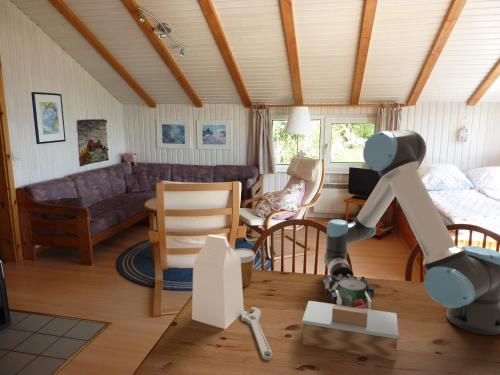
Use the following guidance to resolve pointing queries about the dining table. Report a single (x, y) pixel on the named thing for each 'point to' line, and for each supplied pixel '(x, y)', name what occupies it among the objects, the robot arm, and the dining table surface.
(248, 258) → the disposable coffee cup
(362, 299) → the canned tomato
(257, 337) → the adjustable wrench
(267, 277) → the dining table surface
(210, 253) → the milk
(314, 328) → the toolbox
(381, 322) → the lid
